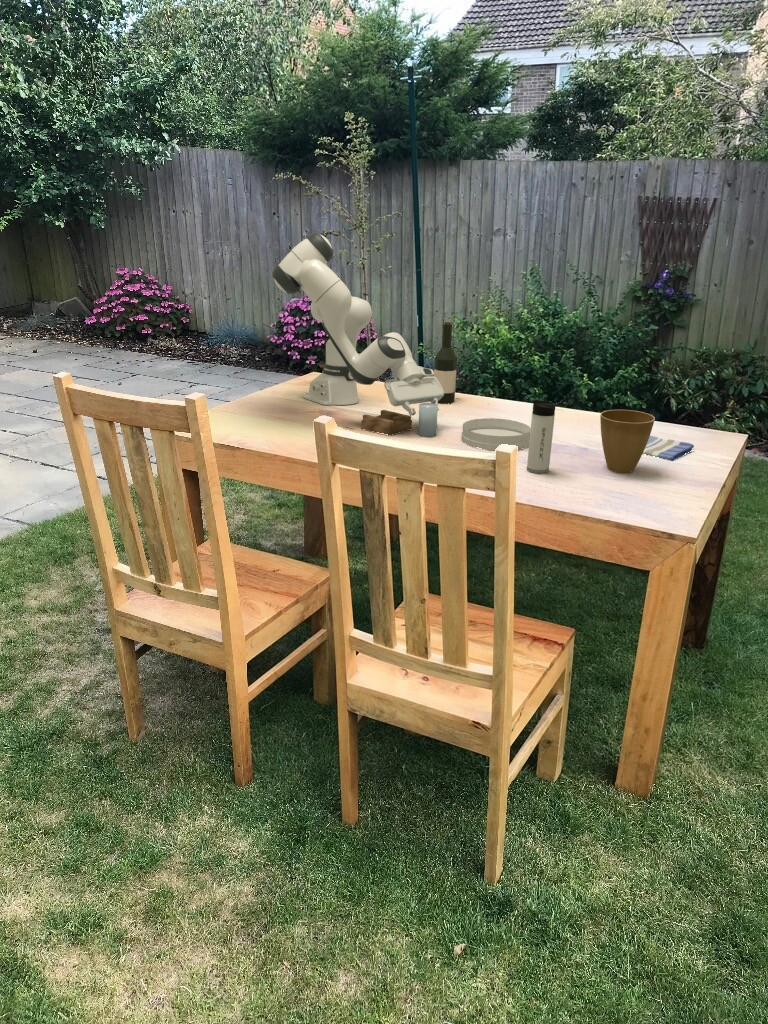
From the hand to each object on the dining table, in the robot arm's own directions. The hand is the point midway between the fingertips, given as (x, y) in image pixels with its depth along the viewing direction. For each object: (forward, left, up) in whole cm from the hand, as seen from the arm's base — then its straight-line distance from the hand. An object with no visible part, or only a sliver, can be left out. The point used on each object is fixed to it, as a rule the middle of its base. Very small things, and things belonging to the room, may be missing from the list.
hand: (424, 412), depth 255 cm
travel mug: (+46, -7, -7) cm, 47 cm away
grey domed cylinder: (+1, 0, -7) cm, 7 cm away
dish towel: (+60, +39, -8) cm, 72 cm away
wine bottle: (-23, +42, -7) cm, 48 cm away
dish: (+21, +10, -8) cm, 25 cm away
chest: (-13, -4, -7) cm, 15 cm away
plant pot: (+63, +11, -7) cm, 65 cm away
